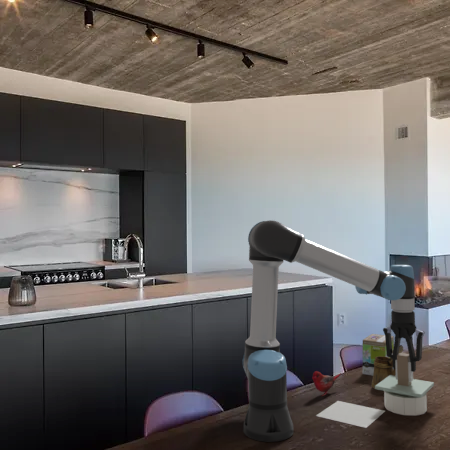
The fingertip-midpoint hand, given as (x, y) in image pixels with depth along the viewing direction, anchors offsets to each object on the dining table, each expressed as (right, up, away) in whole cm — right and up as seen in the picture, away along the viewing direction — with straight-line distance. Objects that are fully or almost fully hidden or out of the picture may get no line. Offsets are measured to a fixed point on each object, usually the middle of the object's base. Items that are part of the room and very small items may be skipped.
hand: (404, 379), depth 163 cm
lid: (0, -3, 0) cm, 3 cm away
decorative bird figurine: (-23, -11, +16) cm, 30 cm away
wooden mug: (+2, -11, +21) cm, 24 cm away
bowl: (0, -10, 0) cm, 10 cm away
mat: (-19, -10, -4) cm, 22 cm away
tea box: (+5, -11, +44) cm, 46 cm away
